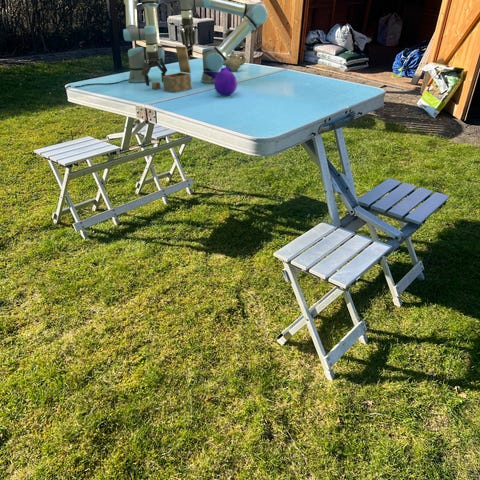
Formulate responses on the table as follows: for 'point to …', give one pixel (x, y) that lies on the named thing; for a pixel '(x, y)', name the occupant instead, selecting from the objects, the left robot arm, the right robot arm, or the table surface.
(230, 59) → the teapot
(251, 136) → the table surface
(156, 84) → the block
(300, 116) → the table surface
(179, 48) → the lid
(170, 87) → the chest
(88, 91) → the table surface
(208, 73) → the toy
